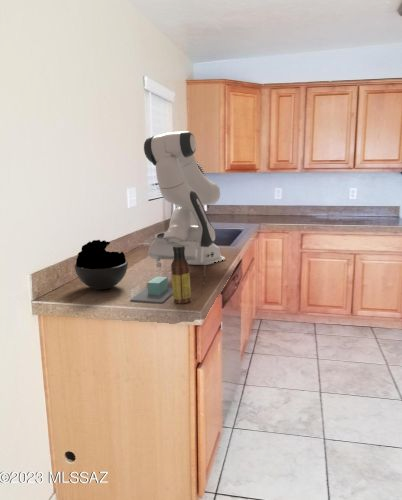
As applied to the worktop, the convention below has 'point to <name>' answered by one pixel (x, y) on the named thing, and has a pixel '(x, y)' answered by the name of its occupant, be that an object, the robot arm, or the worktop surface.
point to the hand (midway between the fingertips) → (169, 267)
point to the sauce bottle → (180, 276)
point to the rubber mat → (152, 296)
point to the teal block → (157, 285)
